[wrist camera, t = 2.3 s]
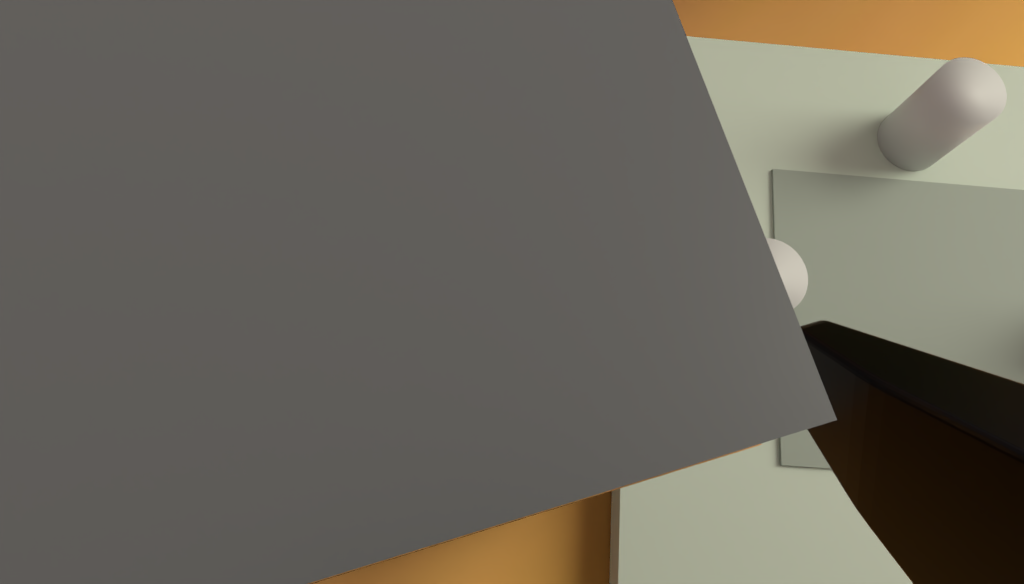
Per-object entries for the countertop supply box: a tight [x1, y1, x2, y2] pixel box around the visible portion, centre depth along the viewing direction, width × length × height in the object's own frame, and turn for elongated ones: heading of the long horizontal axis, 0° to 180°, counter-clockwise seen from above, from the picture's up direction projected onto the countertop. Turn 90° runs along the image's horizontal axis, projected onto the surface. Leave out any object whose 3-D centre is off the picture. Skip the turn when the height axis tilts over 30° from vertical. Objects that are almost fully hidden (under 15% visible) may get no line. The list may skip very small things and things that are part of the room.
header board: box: [609, 36, 1024, 584], centre depth 18 cm, size 14×14×4 cm
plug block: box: [0, 0, 837, 584], centre depth 12 cm, size 6×6×14 cm
